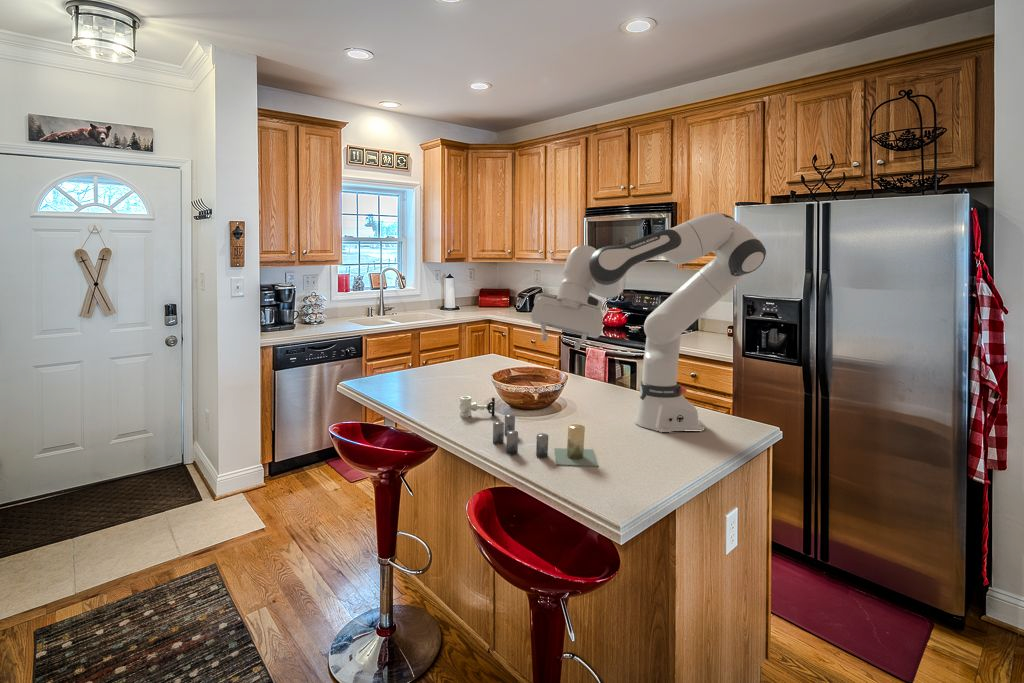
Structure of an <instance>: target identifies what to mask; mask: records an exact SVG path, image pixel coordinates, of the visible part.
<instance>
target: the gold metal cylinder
mask: <svg viewBox="0 0 1024 683" xmlns="http://www.w3.org/2000/svg"><path fill="white" fill-rule="evenodd" d="M585 430H586V428H585V425H581V424H575V423H574V424H569V425H568V427H567V444H566V446H567V448H566V449H567V457H568V458H570V459H574V460H579V459H582V458H583V454H584V449H585Z"/></svg>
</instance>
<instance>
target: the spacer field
mask: <svg viewBox="0 0 1024 683" xmlns="http://www.w3.org/2000/svg"><path fill="white" fill-rule="evenodd" d="M505 436H506V443H505V444H506V447H505V448H506V451H505V453H506V454H507V455H509V454H510V456H514V455H515V454H516V455H518V454H517V453H518V450H519V432H518V431H517V430H516V414H513V413H506V414H504V422H503V421H501V420H499V421H498V420H497V421H494V422H493V423H492V444H493V445H497V444H500V445H503V444H504V439H505V438H504V437H505ZM535 447H536V449H535V450H536V451H535V452H536V453H535V457H536V456H537V457H536V458H538V457H539V458H538V459H547V458H548V454H549V434H547V433H544V432H543V433H537V434H536V446H535ZM516 455H515V456H516ZM546 457H547V458H546Z"/></svg>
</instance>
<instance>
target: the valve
mask: <svg viewBox="0 0 1024 683" xmlns="http://www.w3.org/2000/svg"><path fill="white" fill-rule="evenodd" d="M459 401H460V403H459V410H460V411H459V417H461V416H462V418H469V417H468V416H470V417H471V416H472V411H473V412H477V411H478V410H480V411H484V410H487V412H488V413H489V414H491V417H492V416H494V417H495V414H496V413H495V412H496V411H495V410H496V408H495V407H496V406H495V405H496V402H495V401H496V398H495V397H492V398H491V401H490V402H489V403H487V404H486V405H485V404H480V405H479V404H478V403H477V402H473V403H472V397H471V396H467V395H466V396H465V395H464V396H461V397H460V398H459Z"/></svg>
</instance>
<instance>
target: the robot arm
mask: <svg viewBox="0 0 1024 683" xmlns="http://www.w3.org/2000/svg"><path fill="white" fill-rule="evenodd" d="M711 252H712V253H713V255H715V256H714V258H713V259H712V260H710V261H709V262H708V263H707V264H705V265H703V267H701V268H700V269H699V270H698V271H697V272H696V273H695V274H693V275H692V276H691V277H690V278H689V279H687V281H686V282H684V283H683V284H682V285H681V286H680V287H678V289H676V290H675V291H674V292H673V293H672V294H670V295H669V297H667V298H666V299H665V300H664V301H663V302H662V303H661V304H660V305H658V306H657V307H656V308H655V309H654V310H653V311H652V312H650V314H648V315H647V316H646V319H645V321H644V323H643V332H644V334H645V336H646V338H645V346H644V354H643V364H642V377H641V378H642V380H641V381H640V386H639V398H640V399H639V404H638V410H637V413H636V416H635V418H634V424H636V425H637V426H639V427H641V428H644V429H648V430H652V431H656V432H658V431H659V433H662V432H669V433H672V432H671V431H685V430H703V429H705V430H706V425H705V424H704V422H703V421H701V419H699V413H698V410H697V408H696V407H695V405H693V404H692V403H691V402H690V401H689V400H687V399H686V397H684V396H683V395H685V394H687V388H686V387H684V386H682V385H680V384H679V383H677V382H678V370H679V357H680V356H679V355H680V348H681V336H682V334H683V333H684V332H685V331H687V329H689V327H690V326H692V325H693V324H694V323H695V322H696V321H697V320H698V319H699V318H700V317H701V316H702V315H703V314H705V313H706V312H707V311H709V310H710V308H712V307H713V306H714V305H715V304H717V303H718V302H719V301H720V300H721V299H722V298H723V297H725V296H726V295H727V294H729V292H730V291H731V290H732V289H733V288H734V287H736V286H737V284H738V283H739V282H740V280H741V279H742V278H743V277H744V275H748V274H750V273H752V272H755V271H756V270H758V269H759V268H760V267H761V266H762V264H763V263H764V261H765V259H766V257H767V256H766V255H767V249H766V247H765V245H764V243H762V242H761V240H760V239H758V238H757V237H756V236H755V235H754V234H753V233H752V231H750V230H749V229H748V228H747V227H745V226H743V225H742V224H741V223H739V222H738V221H737V220H735V218H734V217H732V216H731V215H728V214H725V213H720V212H718V211H717V212H716V211H715V212H710V213H706V214H702V215H699V216H697V217H694V218H691V219H689V220H686V221H684V222H682V223H680V224H677V225H676V226H674V227H671V228H668V229H663V230H662V229H661V230H659V231H656V232H654V233H651V234H647V235H645V236H642V237H641V238H637V239H635V240H632V241H629V242H627V243H623V244H619V245H607V246H602V247H601V248H598V249H596V248H595V247H593V246H590V245H578V246H576V247H574V248H572V249H571V250H570V252H569V254H568V255H567V258H566V261H565V264H564V268H563V271H562V280H561V281H560V284H559V287H558V290H557V294H552V293H551V294H550V293H546V292H544V291H543V292H542V291H541V293H537V294H535V297H534V300H533V305H534V306H533V307H532V310H531V313H530V317H529V318H530V321H531V323H533V324H535V325H540V330H541V334H542V335H541V341H543V342H548V338H549V334H548V333H546V331H545V330H546V329H547V327H548V328H553V329H557V330H561V331H565V332H569V333H572V334H577V335H580V337H581V339H580V340H579V341H578V340H576V341H575V343H574V349H575V350H580V348H581V344H583V343H584V342H585V341H586V340H587V337H590V338H593V339H598V338H599V337H600V336H601V334H602V329H603V322H604V321H603V319H604V318H603V312H602V309H603V302H602V300H601V299H599V298H597V297H601V298H603V299H604V298H605V299H614V298H617V297H618V296H619V295H621V294H622V293H623V292H624V290H625V287H626V283H627V273H628V271H630V270H631V269H632V268H633V267H635V266H637V265H640V264H643V263H645V262H648V261H650V260H653V259H655V258H660V257H664V258H665V260H666V261H668V262H670V263H671V264H674V265H676V266H678V265H679V266H680V265H681V266H682V265H684V264H689V263H691V262H693V261H696V260H698V259H701V258H702V257H704V256H706V255H708V254H710V253H711ZM590 293H591V294H590ZM592 294H593V295H596V296H597V297H595V296H593V295H592Z"/></svg>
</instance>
